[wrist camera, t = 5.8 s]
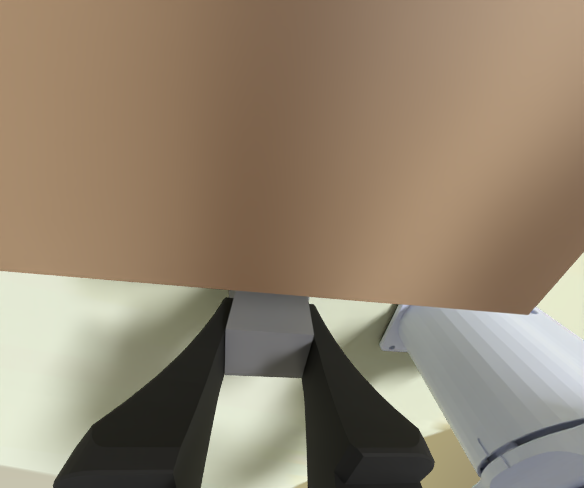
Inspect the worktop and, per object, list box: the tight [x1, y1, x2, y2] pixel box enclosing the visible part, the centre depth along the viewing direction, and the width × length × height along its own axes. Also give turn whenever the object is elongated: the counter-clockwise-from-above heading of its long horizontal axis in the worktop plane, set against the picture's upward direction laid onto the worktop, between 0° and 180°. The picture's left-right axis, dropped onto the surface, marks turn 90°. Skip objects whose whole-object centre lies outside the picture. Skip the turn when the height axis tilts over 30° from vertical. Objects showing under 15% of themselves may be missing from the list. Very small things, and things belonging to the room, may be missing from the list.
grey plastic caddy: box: [225, 290, 314, 378], centre depth 13 cm, size 5×11×6 cm, turn 171°
